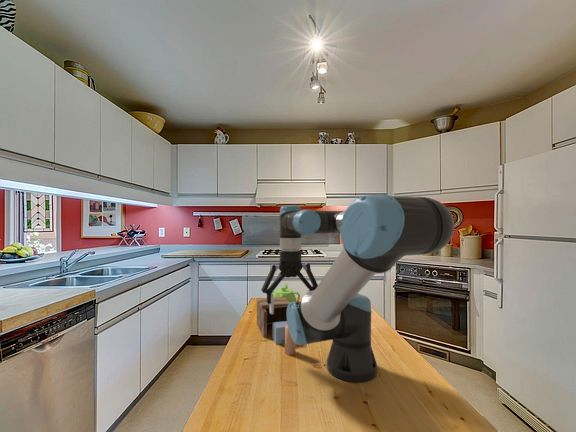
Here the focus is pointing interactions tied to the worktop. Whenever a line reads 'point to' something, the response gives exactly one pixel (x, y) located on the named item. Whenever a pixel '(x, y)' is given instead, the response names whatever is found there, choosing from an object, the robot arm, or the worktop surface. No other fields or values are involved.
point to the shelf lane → (265, 315)
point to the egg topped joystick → (283, 336)
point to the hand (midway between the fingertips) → (290, 311)
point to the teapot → (286, 294)
